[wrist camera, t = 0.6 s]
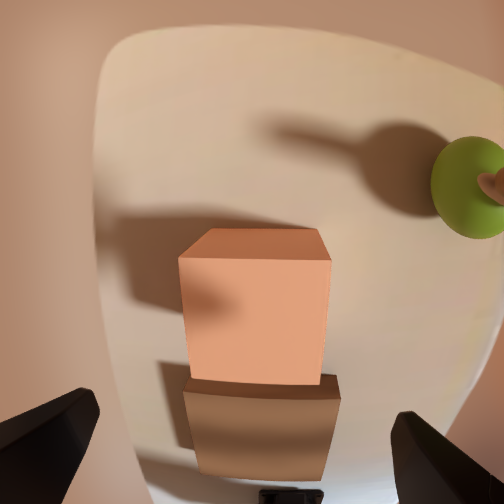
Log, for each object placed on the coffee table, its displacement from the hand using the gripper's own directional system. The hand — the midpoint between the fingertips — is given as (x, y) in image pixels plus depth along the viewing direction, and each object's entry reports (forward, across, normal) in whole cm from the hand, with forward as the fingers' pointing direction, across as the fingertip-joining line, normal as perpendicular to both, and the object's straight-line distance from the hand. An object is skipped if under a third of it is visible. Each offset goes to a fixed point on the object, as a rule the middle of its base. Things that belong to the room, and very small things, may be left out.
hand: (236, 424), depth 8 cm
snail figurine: (+12, -12, -6) cm, 18 cm away
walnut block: (+12, 0, +12) cm, 17 cm away
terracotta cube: (+12, 0, 0) cm, 12 cm away
